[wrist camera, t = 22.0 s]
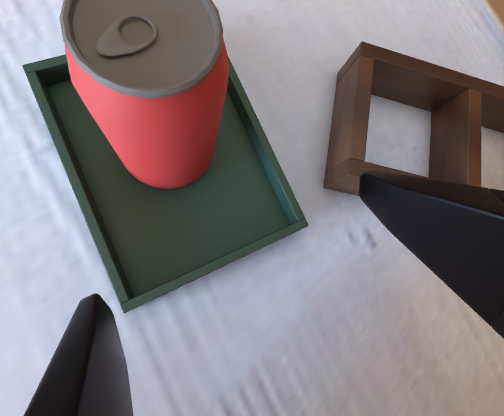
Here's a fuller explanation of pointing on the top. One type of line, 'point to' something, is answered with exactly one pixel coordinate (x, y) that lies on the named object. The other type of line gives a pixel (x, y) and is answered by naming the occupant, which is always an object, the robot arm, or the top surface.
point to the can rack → (419, 95)
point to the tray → (168, 194)
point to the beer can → (151, 81)
